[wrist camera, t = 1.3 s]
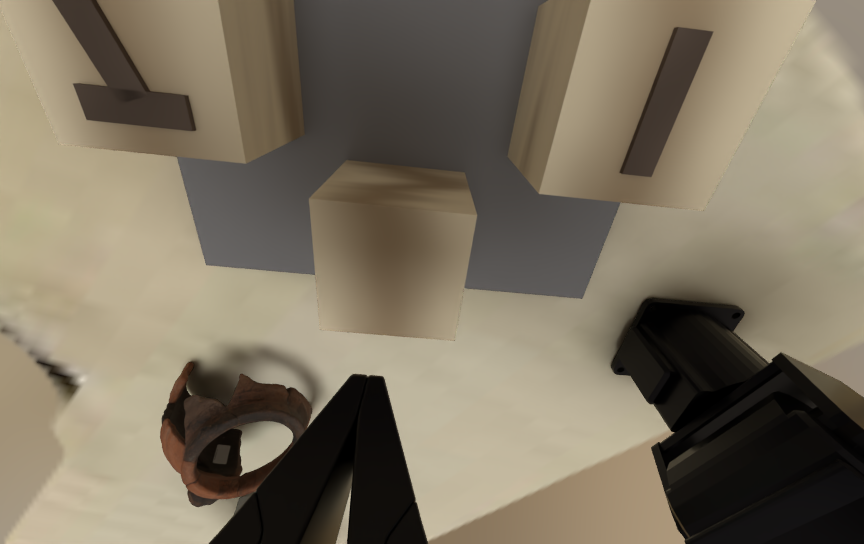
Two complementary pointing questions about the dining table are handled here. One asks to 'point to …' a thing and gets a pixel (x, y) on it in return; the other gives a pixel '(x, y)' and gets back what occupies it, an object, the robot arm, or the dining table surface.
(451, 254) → the plain block
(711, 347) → the robot arm
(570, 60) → the numbered block one
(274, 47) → the numbered block seven
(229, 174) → the charcoal mat
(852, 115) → the dining table surface
